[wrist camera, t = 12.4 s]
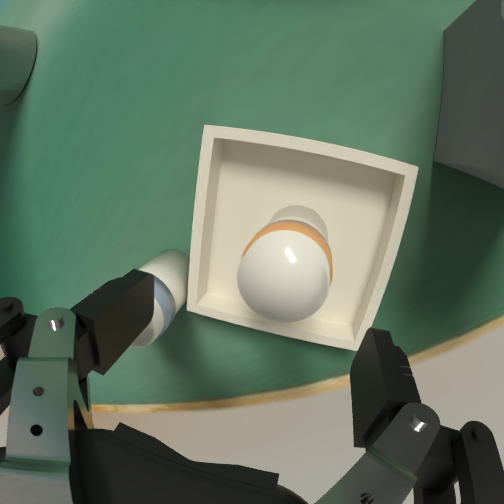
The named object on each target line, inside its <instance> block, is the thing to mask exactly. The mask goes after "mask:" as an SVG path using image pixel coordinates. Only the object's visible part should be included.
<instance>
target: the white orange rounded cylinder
mask: <svg viewBox="0 0 504 504" xmlns="http://www.w3.org/2000/svg"><path fill="white" fill-rule="evenodd" d="M332 278H333V264H332V254H331V250H330V247H329V244H328V231H327V227H326V224H325V222H324V220H323V219H322V218H321V216H320V215H319V214H318V213H316V212H315V211H314V210H312V209H310V208H308V207H305V206H299V205H294V206H288V207H285V208H283V209H281V210H279V211H278V212H276V213H275V214H274V215H273V217H272V218H271V219H270V221H269V222H268V223H267V225H266V226H264V227H263V228H262V229H260V230H259V231H258V232H257V233H256V235H255V236H254V237H253V239H252V240H251V241H250V242H249V244H248V245H247V247H246V248H245V250H244V252H243V255H242V258H241V262H240V264H239V267H238V271H237V284H238V288H239V291H240V294H241V296H242V298H243V300H244V301H245V303H246V304H247V305H248V306H249V307H250V308H251V309H252V310H253V311H254V312H256V313H257V314H258V315H260V316H262V317H264V318H266V319H269V320H272V321H276V322H283V323H289V322H296V321H300V320H303V319H306V318H308V317H309V316H311V315H313V314H314V313H315V312H317V311H318V310H319V309H320V308H321V306H322V305H323V304H324V302H325V300H326V298H327V296H328V293H329V288H330V285H331V282H332Z"/></svg>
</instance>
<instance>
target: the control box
mask: <svg viewBox="0 0 504 504" xmlns="http://www.w3.org/2000/svg"><path fill="white" fill-rule="evenodd" d="M433 161H435V162H438V163H440V164H443V165H446V166H449V167H451V168H454V169H457V170H459V171H462V172H465V173H467V174H470V175H472V176H475V177H477V178H479V179H482V180H484V181H486V182H489V183H491V184H493V185H496V186H498V187H500V188H502V189H504V0H476V1H475V2H474V3H473V4H472V5H471V6H470V7H469V8H468V9H467V10H466V11H464V12H463V13H462V14H461V15H460V16H459V17H458V18H457V19H456V20H455V21H454V22H453V23H452V24H451V25H450V26H448V27H447V28H446V29H445V30H444V72H443V88H442V99H441V109H440V118H439V126H438V133H437V140H436V146H435V152H434V158H433Z"/></svg>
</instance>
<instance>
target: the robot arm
mask: <svg viewBox="0 0 504 504" xmlns="http://www.w3.org/2000/svg"><path fill="white" fill-rule="evenodd" d="M36 47H37V42H36V36H35V34H34V33H33V32H32V31H29V30H24V29H19V28H13V27H7V26H1V25H0V104H9V103H11V102H13V101H14V100H15V99H16V98H17V97H18V96H19V94H20V93H21V91H22V90H23V88H24V86H25V84H26V82H27V80H28V78H29V75H30V73H31V70H32V67H33V63H34V60H35V55H36ZM153 314H154V276H153V274H151V273H148V272H144V271H141V270H137V269H133V270H131V271H130V272H129V273H127V274H126V275H125V276H123V277H122V278H121V277H119V278H116V279H113V280H111V281H108V282H107V283H105V284H104V285H102V286H101V287H100V289H97V290H95V291H94V292H93V294H90V295H89V296H87V297H86V298H84V299H83V300H82V301H80V302H79V303H78V304H76V305H75V306H74V307H72V308H71V309H70V310H69V309H66V308H59V307H57V308H50V309H47V310H45V311H43V312H42V313H41V314H40V315H39V316H35V315H31V314H26V313H24V309H23V305H22V302H21V301H20V300H19V299H17V298H14V297H5V298H2V299H0V345H1V348H2V350H3V353H4V355H5V357H4V358H3V359H2V360H0V415H1V414H2V413H3V411H4V410H5V409H6V408H7V407H8V406H9V405H10V410H9V417H8V429H7V443H6V447H0V504H308V503H307V502H306V501H305V500H304V499H302V498H301V497H300V496H299V495H297V494H295V493H294V492H292V491H291V490H289V489H287V488H285V487H283V486H281V485H278V484H277V483H278V477H279V474H278V473H272V472H267V471H262V470H258V469H253V468H249V467H245V466H240V465H230V464H216V463H204V462H196V461H192V460H189V459H187V458H185V457H184V456H182V455H181V454H179V453H177V452H176V451H174V450H173V449H171V448H170V447H168V446H167V445H165V444H164V443H162V442H161V441H159V440H158V439H156V438H155V437H152V436H150V435H147V434H145V433H143V432H140V431H138V430H136V429H134V428H131V427H129V426H127V425H125V424H123V423H119V424H118V426H117V427H116V429H115V430H114V431H112V430H106V429H94V425H93V420H92V411H91V399H90V385H89V377H88V374H89V373H90V372H91V370H93V371H95V372H97V373H99V374H101V375H104V374H105V373H106V372H107V371H108V370H109V369H110V367H111V366H112V365H113V364H114V363H115V362H116V361H117V359H118V358H119V357H120V356H121V355H122V354H123V353H124V352H125V350H126V349H127V348H128V347H129V346H130V345H131V344H132V343H133V341H134V340H135V339H136V338H137V337H138V336H139V335H140V334H141V333H142V331H143V330H144V329H145V328H146V327H147V326H148V325H149V324H150V322H151V320H152V317H153ZM412 375H413V374H412V371H411V368H410V365H409V362H408V359H407V356H406V355H405V354H404V352H403V351H402V350H401V349H400V347H399V346H394V344H393V341H392V338H391V335H390V332H389V331H386V330H381V329H376V328H371V327H370V328H368V329H367V331H366V333H365V335H364V338H363V340H362V342H361V344H360V347H359V349H358V351H357V353H356V355H355V358H354V360H353V362H352V366H351V370H350V383H351V396H352V413H353V434H354V447H361V448H366V453H365V454H364V455H363V456H362V458H360V459H359V461H358V462H357V463H356V464H355V465H354V466H353V467H352V468H351V469H350V470H349V471H348V472H347V473H346V474H345V475H344V476H343V477H342V478H341V479H340V480H339V481H338V482H337V483H336V484H335V485H334V486H333V487H332V488H331V489H330V490H329V491H328V492H327V493H326V494H325V495H323V497H321V498H320V499H319V500H318V501H317V502H316V503H314V504H402V503H403V501H404V500H405V498H406V497H407V495H408V494H409V492H410V491H411V489H412V488H413V490H414V504H456V496H455V489H454V484H455V483H456V482H458V481H459V488H460V495H461V504H504V470H503V466H502V463H501V459H500V455H499V452H498V449H497V445H496V442H495V439H494V436H493V434H492V432H491V431H490V429H489V428H488V427H487V426H485V425H484V424H483V423H481V422H478V421H470V422H467V423H466V424H465V425H464V426H463V427H462V428H461V430H460V431H458V430H454V429H451V428H448V427H445V426H442V425H440V420H439V417H438V415H437V414H436V413H435V411H434V410H433V409H431V408H430V407H429V406H427V405H425V404H422V403H421V400H420V396H419V393H418V390H417V387H416V383H415V380H414V377H413V376H412Z"/></svg>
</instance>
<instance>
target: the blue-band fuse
mask: <svg viewBox="0 0 504 504" xmlns="http://www.w3.org/2000/svg"><path fill="white" fill-rule="evenodd" d="M189 264H190V257H188V256H187V255H186V254H184V253H183V252H180V251H177V250H166V251H163V252H161V253H160V254H159V255H157V256H156V257H154V258H153V259H152V260H150V261H149V262H148V263H146V264H145V265H144V266H142V267H141V268H139V269H138V270H141V271H144V272H148V273H151V274H153V276H154V314H153V317H152V320H151V322H150V324H149V325H148V326H147V327H146V328H145V329H144V330H143V331H142V333H141V334H140V335H139V336H138V337H137V338H136V339H135V340H134V341H133V343H132V344H131V345H130V346H132V347H136V348H144V347H147V346H149V345H150V344H151V343H152V342H153V341H154V340H155V339H157V338H158V337H160V336H161V335H162V334H163V333H164V332H165V330H166V329H167V328H168V327H169V325H170V324H171V323H172V321H173V320H174V318H175V314H176V313H177V312H178V311H179V310H180V308H181V307H182V306H183V305H184V303H185V302H186V301H187V296H188V279H189Z"/></svg>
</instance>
